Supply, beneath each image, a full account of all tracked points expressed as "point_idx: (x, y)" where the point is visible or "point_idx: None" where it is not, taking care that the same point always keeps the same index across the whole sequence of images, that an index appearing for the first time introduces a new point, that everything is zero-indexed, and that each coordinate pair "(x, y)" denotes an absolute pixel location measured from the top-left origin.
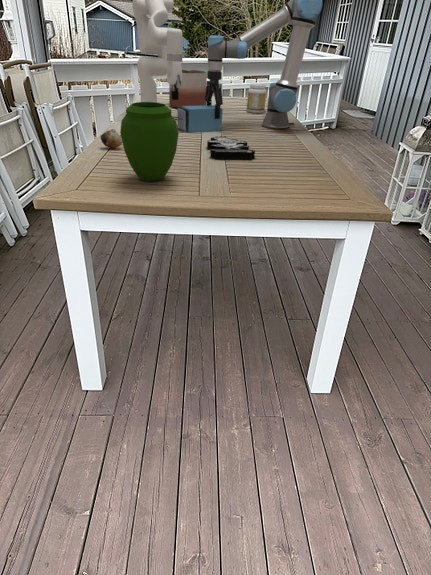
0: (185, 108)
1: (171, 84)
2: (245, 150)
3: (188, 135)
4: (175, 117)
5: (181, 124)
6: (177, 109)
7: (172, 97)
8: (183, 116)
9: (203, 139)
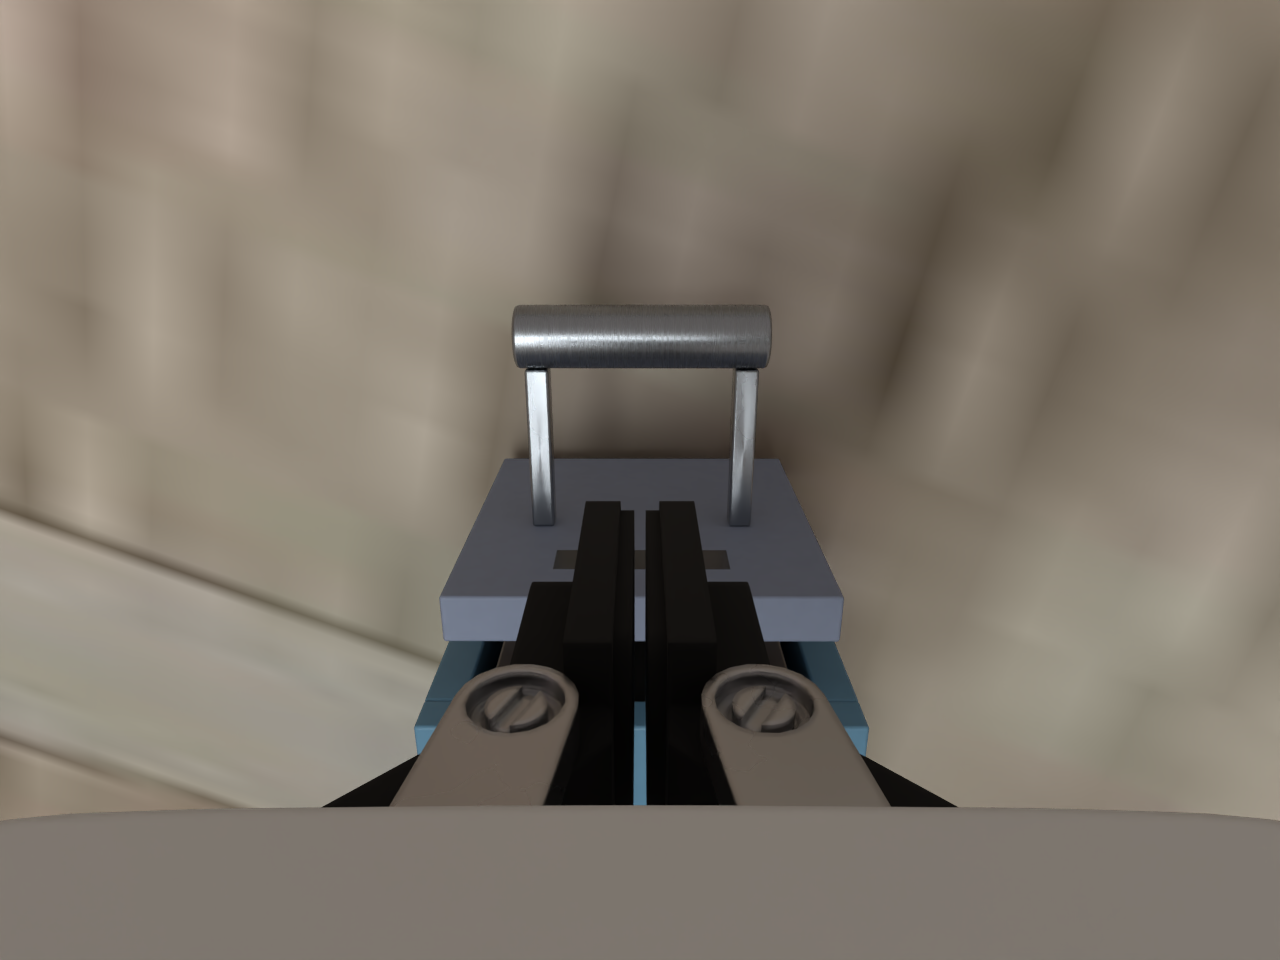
0: (645, 715)
1: (357, 815)
2: None
3: (303, 443)
4: (730, 455)
5: (595, 483)
6: (836, 586)
7: (589, 523)
8: (475, 548)
9: (44, 547)
